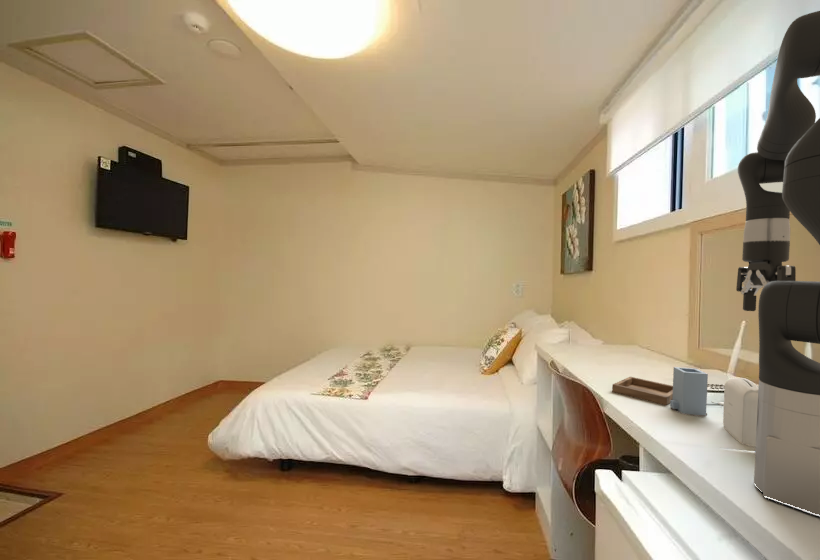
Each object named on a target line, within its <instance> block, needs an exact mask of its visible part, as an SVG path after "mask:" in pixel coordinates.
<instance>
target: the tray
mask: <svg viewBox="0 0 820 560" xmlns="http://www.w3.org/2000/svg"><path fill="white" fill-rule="evenodd" d="M612 393H614V394H619V395H622V396H626V397H630V398H635V399H637V400H638V399H639V400H642V401H646V402H651V403H654V404H658V405H663V406H666V407H667V406H668V405H670V400H672V397H673V384H672V385H671V384H666V383H662V382H657V381H653V380H648V379H643V378H639V377H634V376H629V377H626V378H624V379H621V380H619V381H617V382H615V383H612Z"/></svg>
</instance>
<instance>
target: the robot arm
mask: <svg viewBox="0 0 820 560" xmlns="http://www.w3.org/2000/svg"><path fill="white" fill-rule="evenodd" d="M819 76H820V10H817V11H813V12H810V13H806V14H803V15H801V16H798V17H797V18H795V19H794V20H793V21H792V22H791V23H790V25H789V26H788V27H787V29H786V32H785V33H784V36H783V38H782V42H781V44H780V47H779V51H778V54H777V60H776V64H775V69H774V76H773V79H772V85H771V91H770V97H769V105H768V112H767V115H766V119H765V122H764V123H765V124H764V125H763V129H762V131H761V133H760V135H759V136H760V137H759V139H758V141H757V143H756V145H757V146H756V150H757V151H756V152H751V153H750V152H749V153H748V154H746V155H744V156H743V157H742V158H741V159H740V161H739V162H738V165H737V175H738V179H739V181H740V184H741V186H742V190H743V193H744V197H745V203H746V204H745V205H746V207H745V209H746V211H745V224H744V229H743V236H742V237H743V241H742V256H741V257H742V259H741V260H742V261H743V262H746V263H748V266H739V267H738V268H737V276H736V292H740V294H741V295H742V296H743V297H742V298H743V299H742V310H743V311H745V312H755V311H756V310H757V311H758V315H757V316H758V334H759V335H758V338H759V339H758V344H759V346H758V368H759V369H758V387H759V389H758V407H757V427H756V447H754V449H755V450H754V452H755V453H754V472H753V473H754V475H753V484H754V483H755V484H756V486H757V487H758V488H759V489H760V490H761V491H762V492H763V494H762V496H763V495H764V496H767V497H770V498H773V499H776V500H778V501H781V502H783V503H787V504H790V505H793V506H795V507H799V508H801V509H805V510H807V511H810V512H812V513H815V514H819V515H820V362H819V361H816V360H814V359H812V358H810V357H808V356H807V355H804V354H803V353H801V352H800V351H798V350H797V349H796V348H795V347H794V346H793V344H792V341H793V342H802V343H810V344H818V345H820V281H810V280H809V281H808V280H805V281H804V280H796V277H797V276H796V274H797V272H796V271H797V270H796V266H794V265H783V263H785V262H786V263H787V262H788V261H789V260H790V250H791V249H790V246H791V222H790V217H791V216H790V215H792V216H793V217H794V218H795V219H796V220H797V221H798V223H800V225H802V227H803V228H805V230H807V232H808V233H809V234H810V235H811V236H812V237H813V238H814V239H815V240H816V243H817V244H818V245H819V246H820V117H819V118H818V119H817V115H816V114H817V113H816V110H815V107H814V105H813V104H812V101H811V102H810V100H809V98H807V96H806V95H805V94H804V93H803V92H802V90H801V89H800V87H799V84H798V79H807V78H813V77H819ZM816 119H817V120H816ZM772 183H774V184H775V183H782V189H781V190H782V191H781V192H780V191H779V192H778V191H771V190H767V189H765V188H763V187H762V186H761V184H772ZM761 288H762V289H761ZM760 289H761V290H760ZM759 290H760V291H761V292H760V295H759V298H758V299H759V300H758V309H757V293H758V291H759Z"/></svg>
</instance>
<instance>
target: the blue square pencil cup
mask: <svg viewBox="0 0 820 560" xmlns="http://www.w3.org/2000/svg"><path fill="white" fill-rule="evenodd" d="M708 374H709V373H706V372H705V371H702V370H700V369H698V368H691V367H678V366H673V374H672V375H673V378H672V386H673V397H672V400H670V404H669V406H670V408H671V407H672V408H673V409H677V410H678V411H680V412H681V413H680V414H682V413H684V414H683V415H686V414H695V415H706V413H707V403H708V402H707V399H708V398H707V397H708V377H709V375H708Z"/></svg>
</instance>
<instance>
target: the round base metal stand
mask: <svg viewBox="0 0 820 560" xmlns="http://www.w3.org/2000/svg"><path fill="white" fill-rule="evenodd" d="M670 409H671V410H672V411H674V412H677V413H679V414H683V415H686V416H691V417H706V416H708V412H706V415H695V414H684V413H681V412H680V411H678V410H677V409H673V408H672V407H670Z"/></svg>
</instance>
